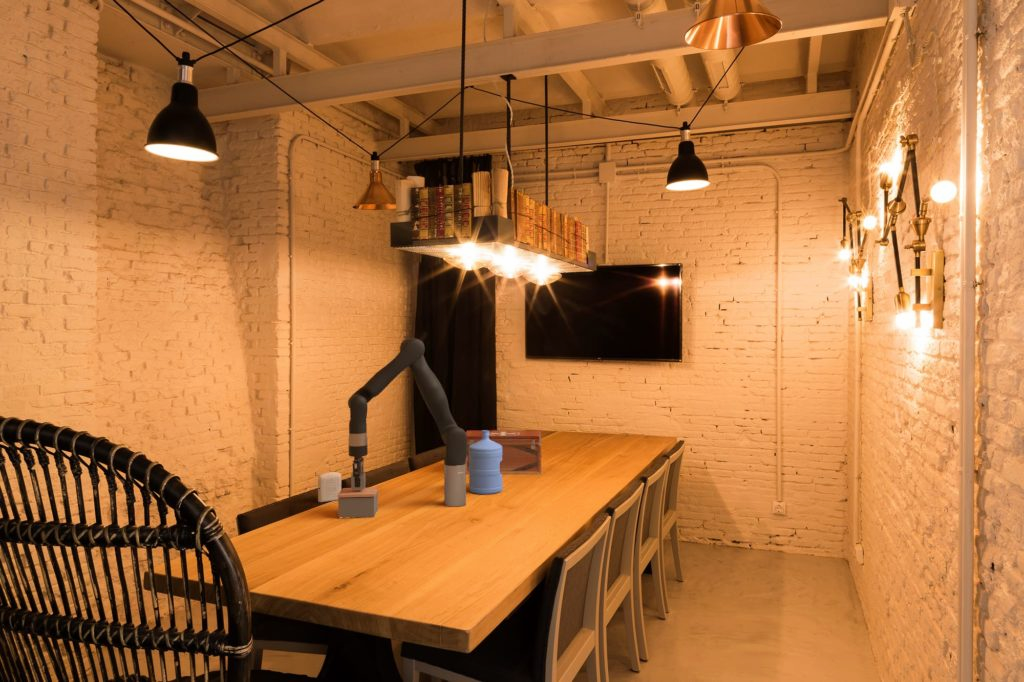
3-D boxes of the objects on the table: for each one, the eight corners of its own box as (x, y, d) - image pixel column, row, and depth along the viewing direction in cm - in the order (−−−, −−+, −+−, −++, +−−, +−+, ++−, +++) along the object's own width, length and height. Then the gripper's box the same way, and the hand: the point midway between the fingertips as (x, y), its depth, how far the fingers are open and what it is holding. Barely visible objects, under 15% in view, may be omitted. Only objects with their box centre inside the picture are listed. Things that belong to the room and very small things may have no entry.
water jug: (483, 496, 305) (482, 434, 304) (462, 490, 317) (461, 430, 316) (509, 491, 315) (509, 430, 315) (488, 485, 327) (487, 427, 327)
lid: (378, 489, 283) (378, 487, 283) (374, 496, 271) (374, 494, 271) (342, 490, 282) (342, 488, 282) (337, 497, 270) (337, 495, 270)
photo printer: (339, 497, 304) (339, 470, 304) (342, 499, 301) (342, 471, 301) (316, 501, 299) (316, 473, 299) (319, 503, 295) (319, 474, 295)
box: (377, 509, 284) (377, 490, 283) (374, 517, 272) (374, 497, 271) (343, 510, 283) (343, 491, 282) (338, 518, 271) (338, 498, 270)
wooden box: (542, 474, 351) (541, 436, 351) (463, 475, 352) (462, 436, 352) (541, 466, 371) (541, 430, 371) (466, 467, 372) (466, 430, 372)
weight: (365, 486, 280) (365, 471, 280) (363, 489, 275) (363, 474, 275) (353, 486, 279) (352, 472, 279) (351, 489, 274) (351, 474, 274)
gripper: (364, 446, 270) (365, 489, 270) (369, 440, 284) (370, 481, 284) (345, 447, 269) (346, 490, 270) (351, 441, 284) (351, 482, 284)
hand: (358, 485), depth 277 cm, fingers closed on weight, 5 cm apart
